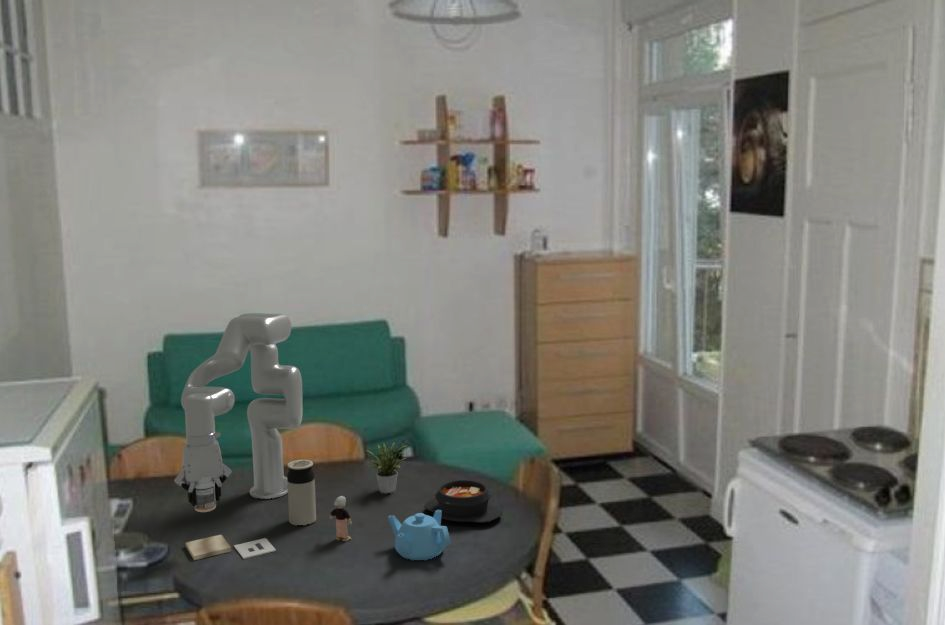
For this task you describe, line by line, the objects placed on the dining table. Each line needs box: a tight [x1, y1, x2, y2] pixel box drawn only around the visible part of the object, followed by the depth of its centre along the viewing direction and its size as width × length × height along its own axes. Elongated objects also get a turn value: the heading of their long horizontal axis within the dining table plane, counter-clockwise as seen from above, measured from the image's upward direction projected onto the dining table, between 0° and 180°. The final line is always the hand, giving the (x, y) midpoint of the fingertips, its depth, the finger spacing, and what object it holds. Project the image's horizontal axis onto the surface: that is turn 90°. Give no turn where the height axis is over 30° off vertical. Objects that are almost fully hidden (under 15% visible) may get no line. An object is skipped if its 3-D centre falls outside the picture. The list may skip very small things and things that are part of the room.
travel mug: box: [286, 459, 317, 526], centre depth 249 cm, size 8×8×18 cm
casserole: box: [424, 479, 503, 524], centre depth 254 cm, size 25×19×8 cm
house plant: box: [365, 442, 409, 492], centre depth 272 cm, size 14×14×16 cm
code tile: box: [233, 537, 277, 560], centre depth 232 cm, size 9×9×1 cm
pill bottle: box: [194, 476, 217, 513], centre depth 230 cm, size 6×6×10 cm
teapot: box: [387, 510, 452, 561], centre depth 229 cm, size 15×15×11 cm
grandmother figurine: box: [329, 495, 353, 542], centre depth 237 cm, size 8×4×13 cm, turn 71°
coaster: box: [184, 534, 232, 561], centre depth 232 cm, size 10×10×1 cm
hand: (205, 501), depth 230 cm, fingers closed on pill bottle, 5 cm apart
